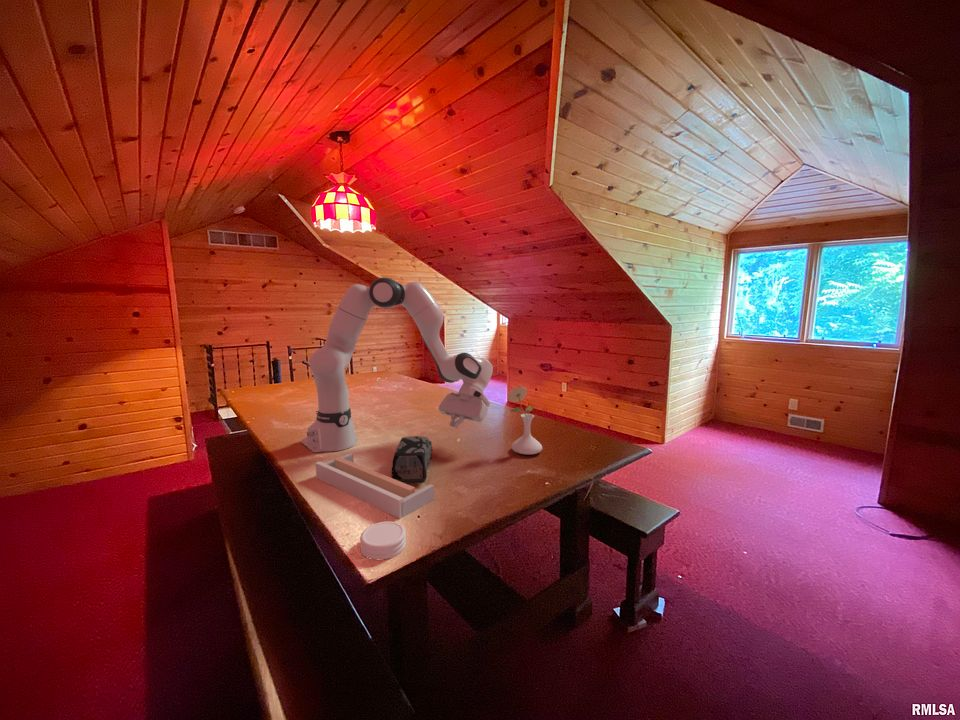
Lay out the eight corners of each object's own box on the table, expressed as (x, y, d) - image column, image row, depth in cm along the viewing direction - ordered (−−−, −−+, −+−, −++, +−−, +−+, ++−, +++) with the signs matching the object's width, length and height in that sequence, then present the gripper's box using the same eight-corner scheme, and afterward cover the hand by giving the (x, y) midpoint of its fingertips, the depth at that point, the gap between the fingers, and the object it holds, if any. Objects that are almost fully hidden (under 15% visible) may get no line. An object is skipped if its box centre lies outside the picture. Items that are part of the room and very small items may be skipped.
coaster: (351, 548, 87) (351, 534, 86) (388, 529, 94) (388, 515, 94) (377, 568, 80) (376, 552, 80) (415, 545, 88) (414, 531, 87)
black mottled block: (432, 455, 140) (432, 428, 139) (426, 487, 116) (425, 455, 114) (403, 455, 140) (402, 429, 138) (390, 487, 115) (389, 455, 114)
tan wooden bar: (335, 473, 124) (334, 459, 124) (340, 471, 126) (339, 457, 125) (409, 507, 104) (409, 490, 103) (415, 504, 105) (414, 487, 104)
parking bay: (316, 477, 121) (315, 462, 121) (350, 464, 131) (350, 450, 130) (400, 518, 98) (399, 500, 97) (434, 499, 108) (433, 482, 107)
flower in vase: (539, 445, 149) (540, 382, 145) (545, 457, 137) (546, 388, 134) (505, 446, 148) (506, 382, 145) (508, 457, 137) (509, 389, 133)
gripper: (445, 387, 153) (428, 417, 147) (487, 394, 141) (470, 427, 135) (452, 396, 158) (436, 425, 151) (493, 404, 145) (478, 436, 139)
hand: (453, 426), depth 143 cm, fingers closed
